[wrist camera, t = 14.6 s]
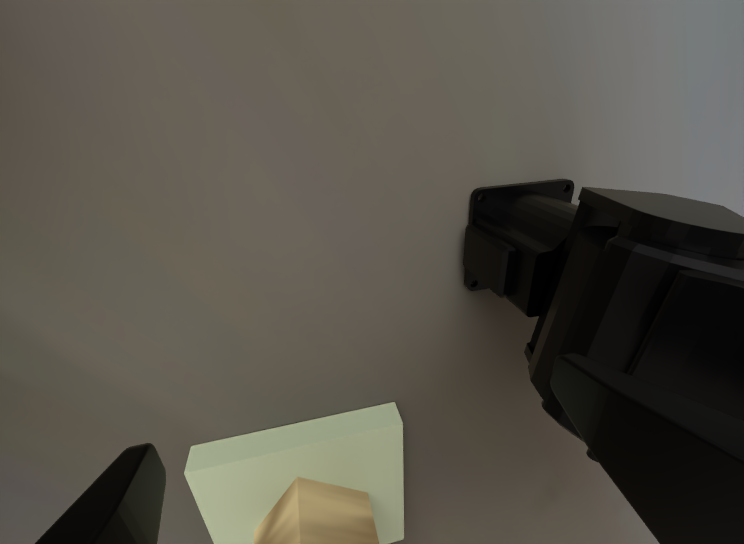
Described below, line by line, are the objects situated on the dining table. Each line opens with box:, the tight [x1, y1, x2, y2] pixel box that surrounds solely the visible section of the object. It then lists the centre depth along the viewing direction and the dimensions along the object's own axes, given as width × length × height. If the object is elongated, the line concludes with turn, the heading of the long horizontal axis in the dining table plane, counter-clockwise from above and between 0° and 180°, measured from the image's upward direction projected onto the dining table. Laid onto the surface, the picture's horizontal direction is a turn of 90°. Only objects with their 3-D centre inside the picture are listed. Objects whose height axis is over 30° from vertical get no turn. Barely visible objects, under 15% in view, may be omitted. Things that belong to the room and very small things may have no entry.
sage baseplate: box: [184, 402, 404, 544], centre depth 27 cm, size 14×14×2 cm
